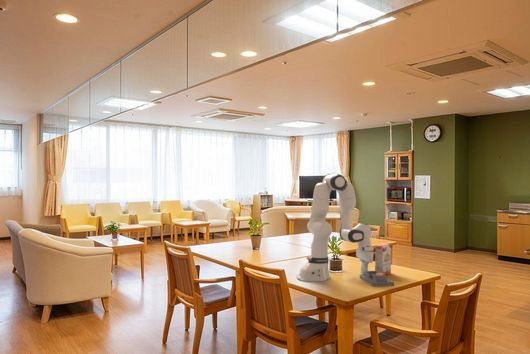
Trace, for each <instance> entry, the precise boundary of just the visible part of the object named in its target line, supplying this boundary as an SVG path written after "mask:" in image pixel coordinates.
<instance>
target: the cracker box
mask: <svg viewBox="0 0 530 354" xmlns="http://www.w3.org/2000/svg"><path fill="white" fill-rule="evenodd" d="M374 252H375V253H374V254H375V255H374V257H375V258H374V271H378V272H379V273H383V274H384V275H386V276H387V275H390V274H391V273H392V272H391V271H392V268H391V267H392V244H391V243H387V242H382V243H380V244H379V243H378V244H376V245H375V246H374Z"/></svg>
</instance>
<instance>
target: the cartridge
mask: <svg viewBox="0 0 530 354" xmlns="http://www.w3.org/2000/svg"><path fill="white" fill-rule="evenodd" d="M364 271H369V267H368V268H365V261H364V260H362V259H361V262H360V275H364Z"/></svg>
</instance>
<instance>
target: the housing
mask: <svg viewBox="0 0 530 354" xmlns="http://www.w3.org/2000/svg"><path fill="white" fill-rule="evenodd" d="M376 273H379V272H378V271H375V270H368V271H364V274H359V279H360V280H362V281H363V282H365V283H367V284H369V285H371V286H372V287H382V286H394V285H395V282H394V281H393V280H391V279H389V278H388V276H387V275H384V274H383V276H377V275H376Z"/></svg>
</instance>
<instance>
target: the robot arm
mask: <svg viewBox="0 0 530 354" xmlns="http://www.w3.org/2000/svg"><path fill="white" fill-rule="evenodd" d="M332 191H336V192H337V194H338V198H339V215H340V217H339V218H340V229H339V238H340V239H341V240H343V241H345V242H350V243H357V247H356V252H355V255H356V256H355V257H356V258H358V259H359V262H360V263H361V259H362V260H364V261H365V268H368V269H369V263H371V264H372V263H373V262H374V252H375V247H373V246H372V243H371V236H372V235H371V234H372V233H371V226H370V225H369V224H368V223H363V222H359V223H358V224H357V225H355V226H354V227H351V225H350V224H351V223H350V222H351V221H350V214H351V212H352V211H353V210H354V209H355V208H356V206H357V199H356V193H355V188H354V186H353V183H351V182H348V181H347V179H346V177H345V176H343V175H342V174H341V173H340V174H339V173H328V174H326V175H324V176H323V177H322V180H321V182H318V183H316V184H315V186H314V189H313V193H312V194H313V195H312V206H311V207H312V208H311V213H310V217H309V221H308V222H307V225H306V228H307V231H308V232H309V233H310V234H312V235H313V237H312V238H313V239H312V243H311V244H310V246H311V247H310V249H311V250H310V256H309V255H308V256H306V260H307V263H305V264H304V265H302V267H301V268H300V269H299V274H296V278H297V280H299V281H302V282H326V281H327V280H329V279H331V275H330V272H329V271H330V269H329V262H330V261H329V255H328V254H329V252H328V251H329V248H328V246H329V241H330V236H331V235H332V233H333V226H332V225H331V223H329V222H328V221H326V219H327V218H326V217H327V215H328V213H329V211H330V197H331V192H332Z"/></svg>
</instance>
